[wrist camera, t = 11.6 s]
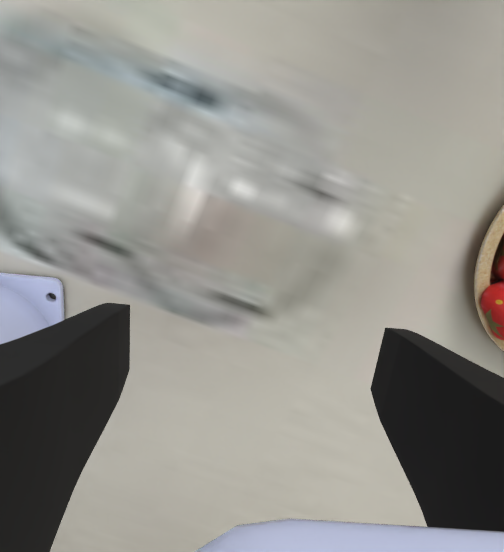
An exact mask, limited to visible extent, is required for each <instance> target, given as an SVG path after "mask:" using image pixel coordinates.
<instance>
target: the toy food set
mask: <svg viewBox="0 0 504 552" xmlns="http://www.w3.org/2000/svg"><path fill="white" fill-rule="evenodd" d="M474 295H475V302H476V307H477V311H478V314H479V317H480V320H481V322H482V324H483V326H484V328H485V330H486V332H487V333H488V335H489V336H490V338H491V339H492V340H493V341H494V342H495V344H496V345H497V346H498V347H499V348H500V349H501V350H502V351H503V352H504V205H503V206H502V207H501V209H500V210H499V212H498V213H497V215H496V217H495V218H494V220H493V222H492V223H491V225H490V227H489V229H488V231H487V233H486V235H485V238H484V240H483V243H482V245H481V248H480V251H479V255H478V258H477V262H476V267H475V275H474Z"/></svg>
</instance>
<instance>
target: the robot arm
mask: <svg viewBox="0 0 504 552" xmlns="http://www.w3.org/2000/svg"><path fill="white" fill-rule="evenodd" d="M49 293H53V294H54V295H55V296H56V299H52V298H51V297H50V296H49ZM129 353H130V305H126V304H115V303H105V304H102V305H99V306H96V307H94V308H91V309H89V310H86V311H84V312H82V313H79V314H77V315H75V316H73V317H70V318H68V319H66V320H64V294H63V284H62V283H61V281H60V280H58V279H57V278H54V277H43V276H32V275H21V274H10V273H0V552H50V549H51V546H52V544H53V541H54V538H55V536H56V533H57V530H58V528H59V525H60V523H61V520H62V518H63V515H64V512H65V510H66V507H67V505H68V502H69V500H70V497H71V495H72V492H73V490H74V487H75V485H76V483H77V481H78V479H79V476H80V474H81V472H82V470H83V468H84V466H85V464H86V462H87V460H88V458H89V457H90V455H91V453H92V451H93V449H94V447H95V445H96V443H97V441H98V439H99V437H100V435H101V434H102V432H103V430H104V428H105V426H106V424H107V422H108V420H109V418H110V416H111V414H112V412H113V410H114V408H115V406H116V404H117V402H118V400H119V398H120V395H121V392H122V390H123V387H124V384H125V381H126V378H127V375H128V372H129ZM371 392H372V395H373V399H374V403H375V406H376V409H377V412H378V415H379V418H380V421H381V423H382V425H383V428H384V430H385V432H386V434H387V436H388V438H389V441H390V443H391V445H392V447H393V449H394V451H395V453H396V455H397V457H398V459H399V462H400V464H401V466H402V468H403V470H404V472H405V474H406V476H407V478H408V480H409V482H410V485H411V487H412V489H413V491H414V493H415V495H416V498H417V500H418V502H419V505H420V507H421V510H422V512H423V515H424V518H425V521H426V524H427V526H428V527H420V526H404V525H388V524H371V523H355V522H339V521H323V520H306V519H290V518H288V519H281V520H273V521H266V522H258V523H251V524H243V525H237V526H235V527H234V528H232V529H230V530H229V531H227V532H226V533H224V534H222V535H221V536H219V537H217V538H216V539H214V540H213V541H211V542H209V543H208V544H206V545H205V546H203V547H201V548H200V549H198V550H196V551H195V552H504V378H503V377H501V376H499V375H497V374H495V373H493V372H490V371H488V370H486V369H484V368H483V367H481V366H479V365H477V364H475V363H473V362H471V361H469V360H467V359H465V358H463V357H461V356H460V355H458V354H456V353H454V352H452V351H450V350H448V349H447V348H445V347H443V346H441V345H439V344H437V343H435V342H433V341H431V340H429V339H427V338H425V337H423V336H421V335H419V334H417V333H415V332H412V331H409V330H405V329H394V328H385V332H384V336H383V340H382V344H381V348H380V352H379V357H378V361H377V365H376V369H375V373H374V377H373V381H372V386H371Z"/></svg>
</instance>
